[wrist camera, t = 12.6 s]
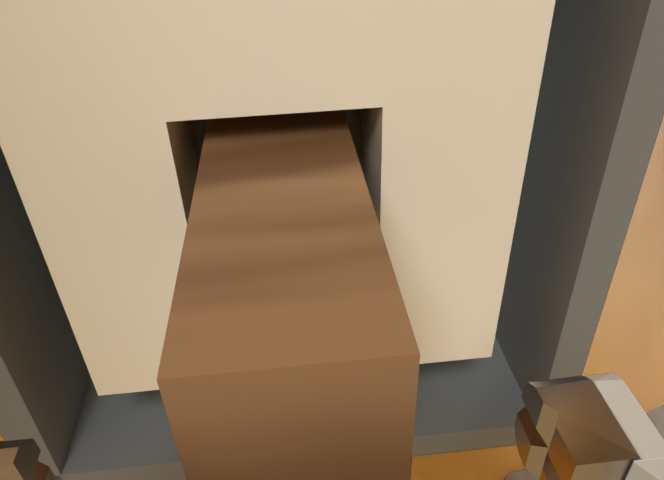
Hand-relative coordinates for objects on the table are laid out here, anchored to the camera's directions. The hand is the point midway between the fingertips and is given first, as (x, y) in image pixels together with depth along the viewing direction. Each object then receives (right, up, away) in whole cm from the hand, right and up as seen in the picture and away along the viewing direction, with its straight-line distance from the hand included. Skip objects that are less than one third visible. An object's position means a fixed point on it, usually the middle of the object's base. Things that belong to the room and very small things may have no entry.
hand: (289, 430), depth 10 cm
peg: (-1, +6, +10) cm, 12 cm away
